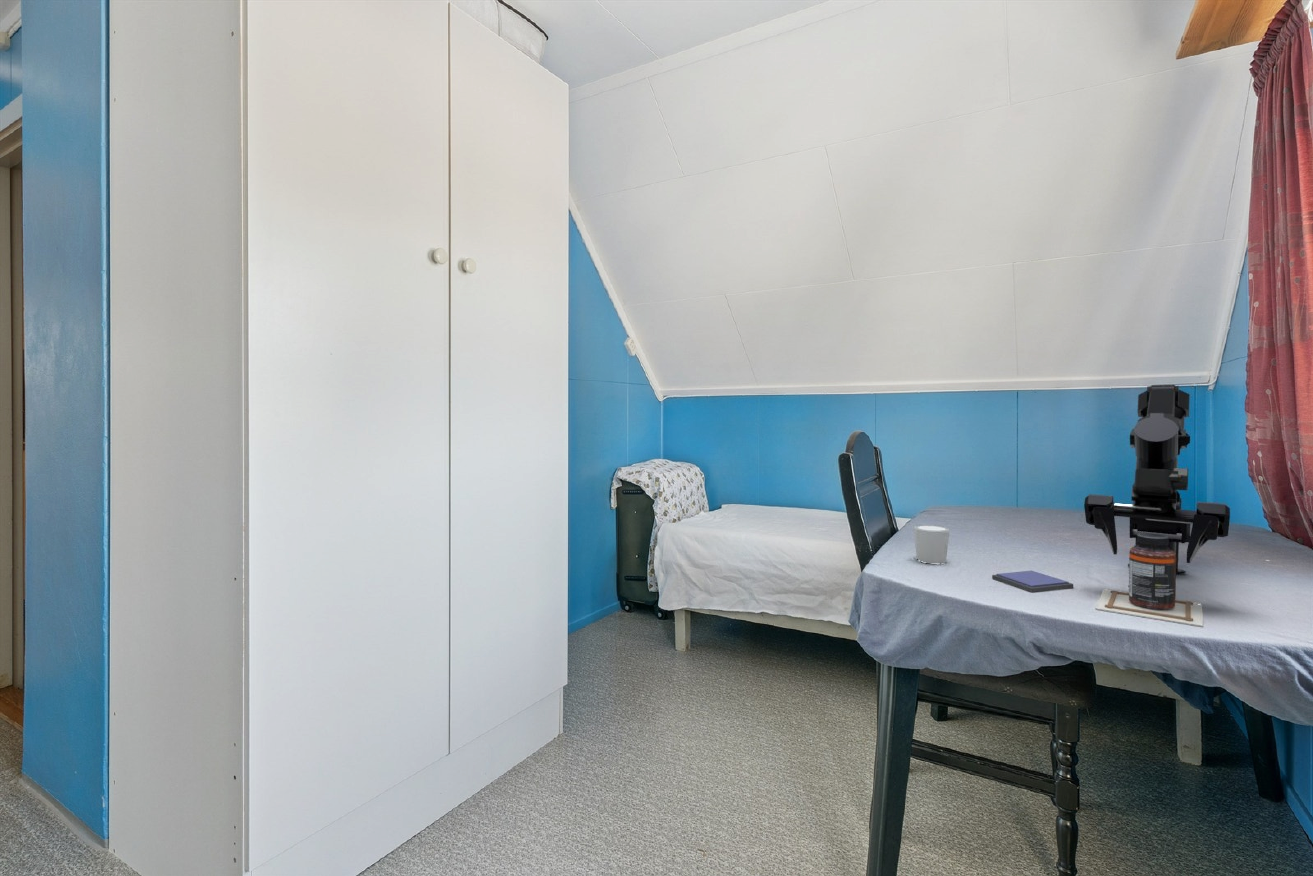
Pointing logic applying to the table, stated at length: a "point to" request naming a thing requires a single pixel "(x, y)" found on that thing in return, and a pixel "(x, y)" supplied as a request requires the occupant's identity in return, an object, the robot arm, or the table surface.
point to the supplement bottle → (1152, 572)
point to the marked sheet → (1178, 614)
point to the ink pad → (1032, 581)
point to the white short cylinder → (931, 543)
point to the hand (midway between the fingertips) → (1150, 557)
